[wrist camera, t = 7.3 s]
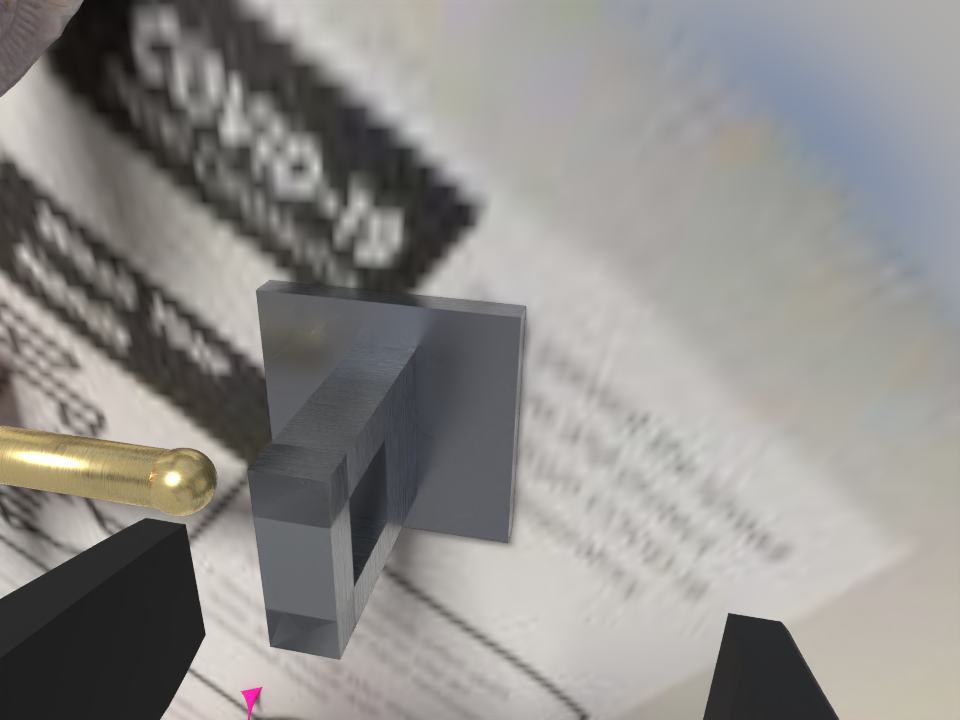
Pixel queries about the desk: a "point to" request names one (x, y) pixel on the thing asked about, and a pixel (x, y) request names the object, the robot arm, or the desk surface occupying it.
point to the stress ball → (250, 698)
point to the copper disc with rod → (107, 470)
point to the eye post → (375, 442)
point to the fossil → (29, 34)
